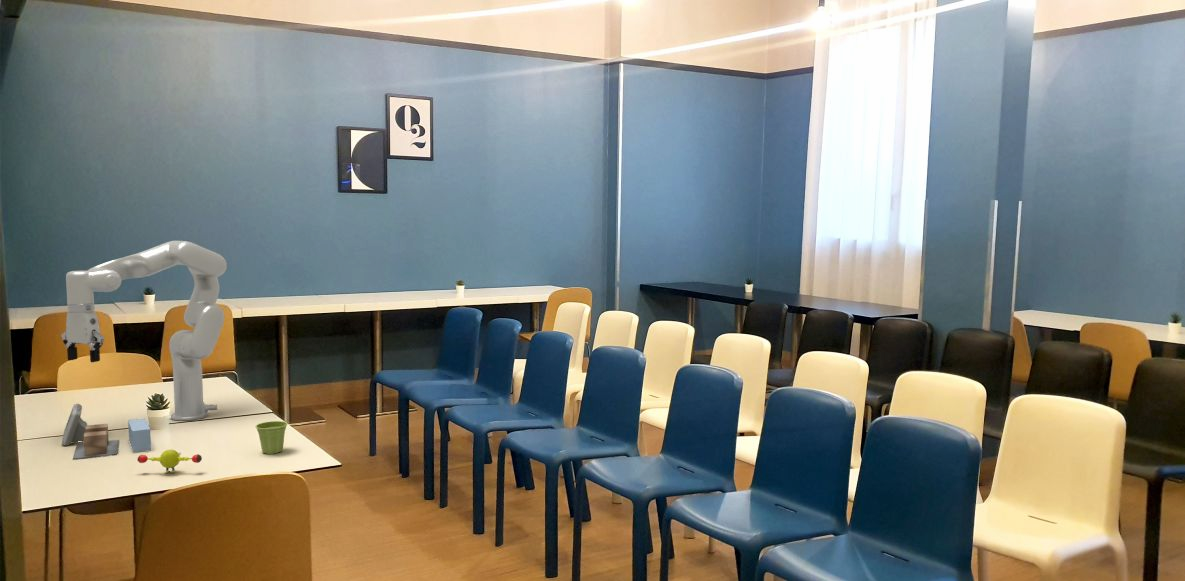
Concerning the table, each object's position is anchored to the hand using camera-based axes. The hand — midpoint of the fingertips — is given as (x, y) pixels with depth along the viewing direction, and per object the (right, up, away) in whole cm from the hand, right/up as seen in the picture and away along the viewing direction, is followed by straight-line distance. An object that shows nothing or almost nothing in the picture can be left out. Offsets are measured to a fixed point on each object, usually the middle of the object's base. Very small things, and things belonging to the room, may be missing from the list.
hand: (83, 360), depth 290 cm
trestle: (+11, -27, -12) cm, 31 cm away
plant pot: (+66, -28, -13) cm, 73 cm away
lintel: (+22, -27, -6) cm, 35 cm away
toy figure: (+45, -30, -35) cm, 64 cm away
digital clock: (-3, -26, 0) cm, 26 cm away
